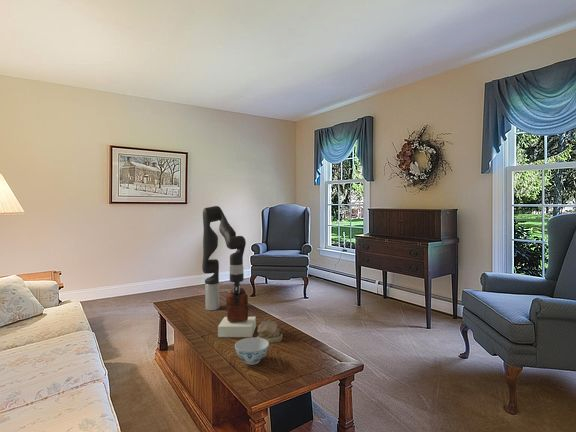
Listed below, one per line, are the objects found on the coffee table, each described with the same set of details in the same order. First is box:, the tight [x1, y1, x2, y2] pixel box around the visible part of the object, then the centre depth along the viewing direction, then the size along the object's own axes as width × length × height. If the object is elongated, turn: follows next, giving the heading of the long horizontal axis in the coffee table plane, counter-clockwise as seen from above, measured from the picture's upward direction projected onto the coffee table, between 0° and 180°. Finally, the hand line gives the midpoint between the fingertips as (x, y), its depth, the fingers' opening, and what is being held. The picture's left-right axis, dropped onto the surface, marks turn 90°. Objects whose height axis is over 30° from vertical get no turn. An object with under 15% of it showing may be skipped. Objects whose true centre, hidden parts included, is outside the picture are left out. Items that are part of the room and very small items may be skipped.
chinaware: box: [234, 337, 270, 366], centre depth 149 cm, size 15×15×8 cm
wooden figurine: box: [225, 287, 249, 322], centre depth 185 cm, size 12×6×18 cm, turn 99°
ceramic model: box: [256, 319, 284, 343], centre depth 175 cm, size 14×11×10 cm
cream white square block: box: [217, 316, 257, 338], centre depth 185 cm, size 16×18×6 cm
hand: (237, 302), depth 185 cm, fingers closed on wooden figurine, 6 cm apart
